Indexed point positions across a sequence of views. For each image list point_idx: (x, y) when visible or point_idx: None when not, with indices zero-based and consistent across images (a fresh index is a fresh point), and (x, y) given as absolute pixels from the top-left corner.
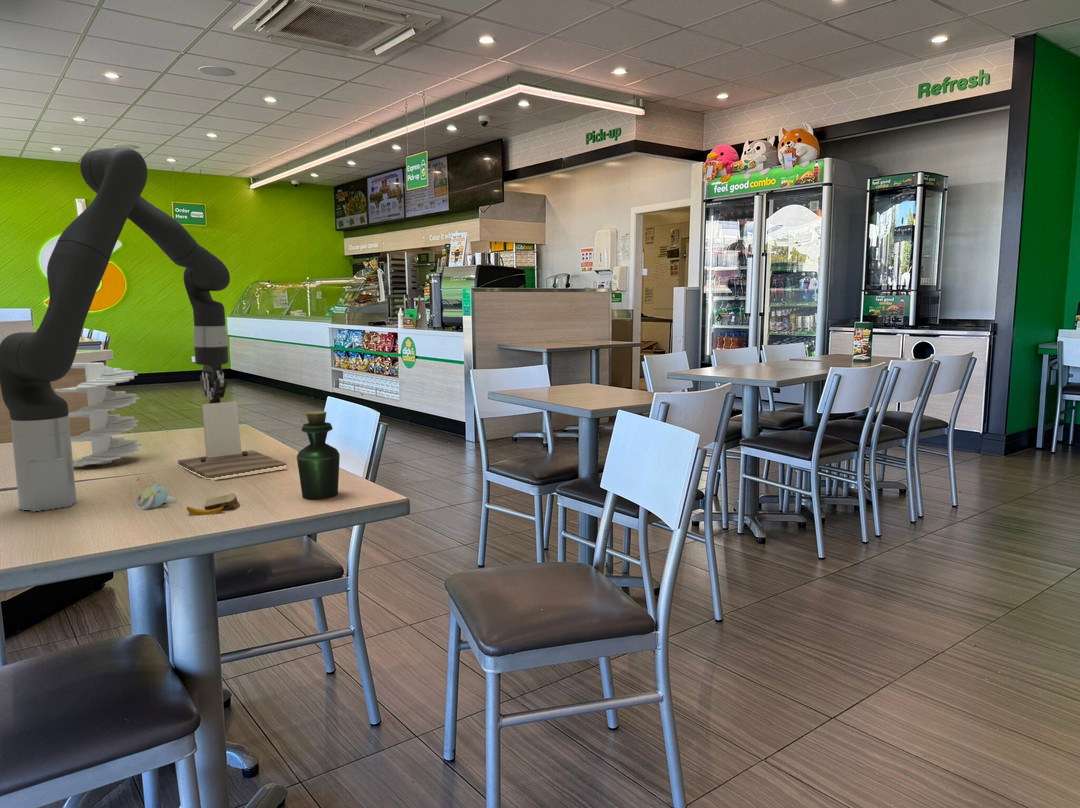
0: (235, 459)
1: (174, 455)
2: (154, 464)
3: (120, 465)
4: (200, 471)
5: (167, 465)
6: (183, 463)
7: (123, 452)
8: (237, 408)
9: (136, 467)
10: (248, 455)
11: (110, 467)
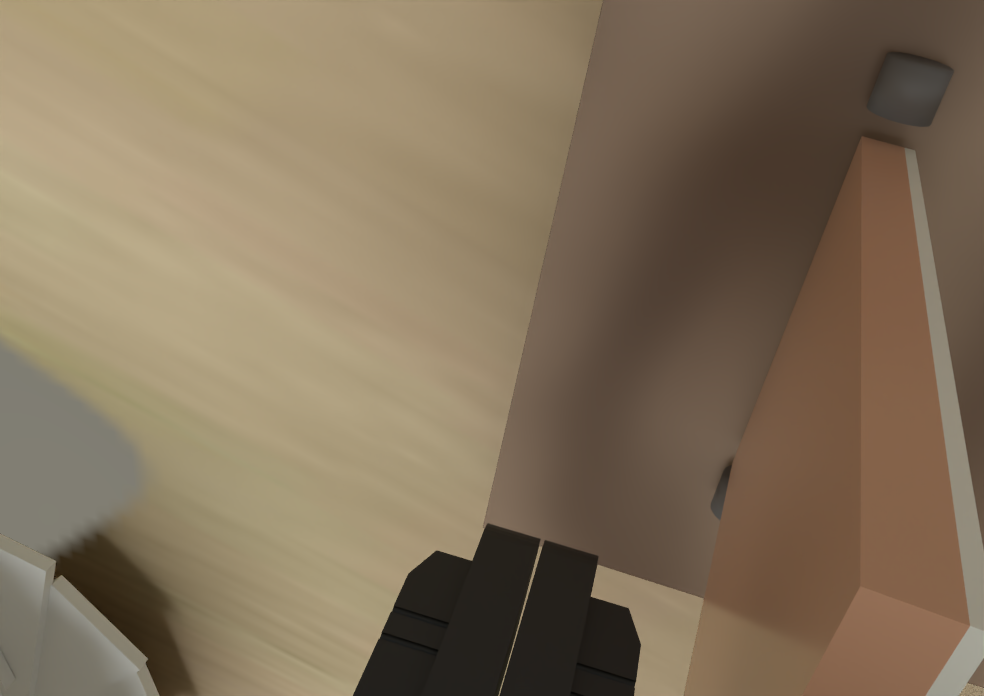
0: (981, 276)
1: (32, 259)
2: (285, 522)
3: (160, 618)
4: None
5: (394, 506)
6: (639, 575)
7: (73, 642)
8: (970, 493)
9: (298, 619)
10: (928, 39)
11: (182, 668)
